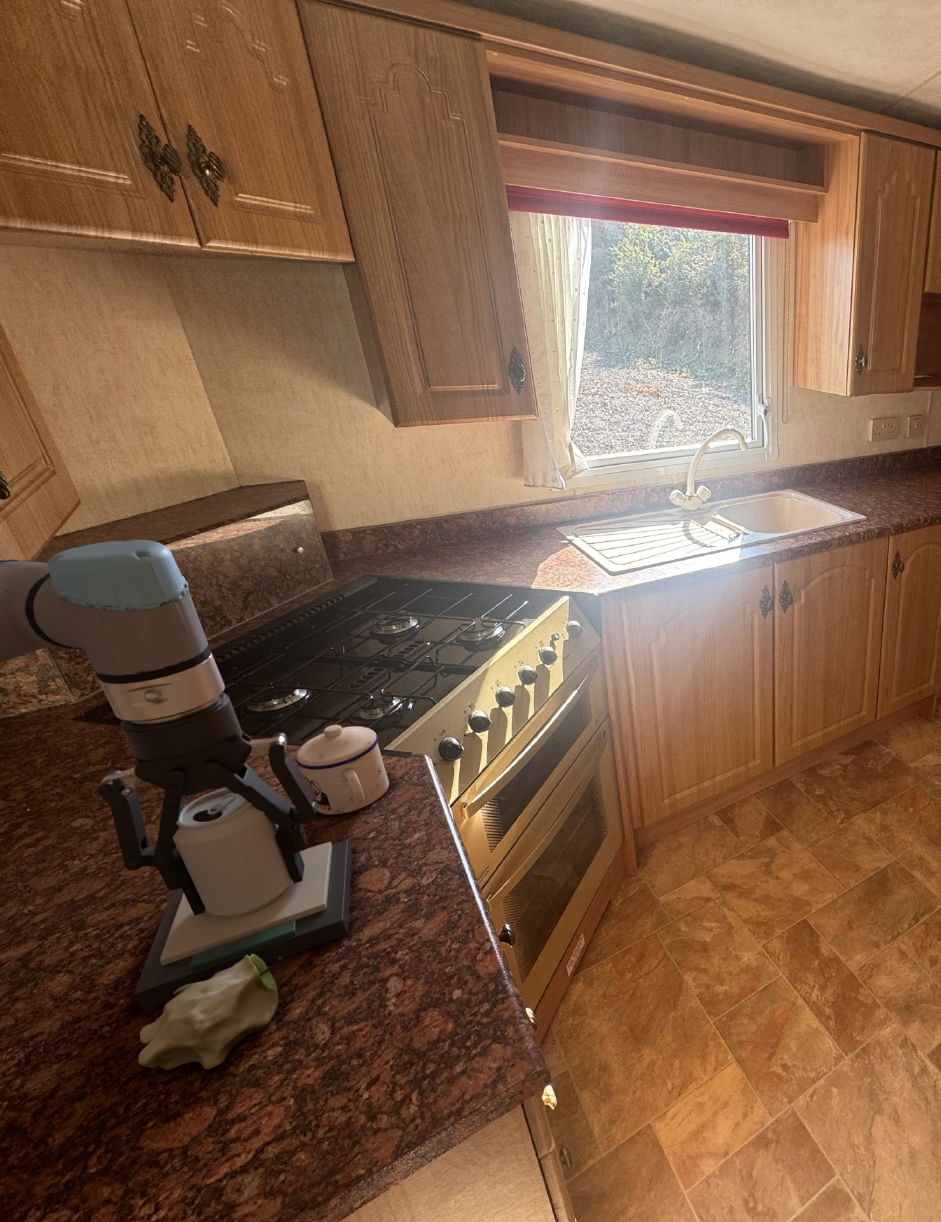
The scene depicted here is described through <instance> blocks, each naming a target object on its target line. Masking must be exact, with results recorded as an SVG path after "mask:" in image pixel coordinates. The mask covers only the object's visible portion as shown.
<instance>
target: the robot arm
mask: <svg viewBox="0 0 941 1222" xmlns="http://www.w3.org/2000/svg"><path fill="white" fill-rule="evenodd" d="M49 648H50V649H51V648H55V649H56V648H57V649H68V650H84V652H85V654H86V656H87V658H88V660H89V662H90V664H91V666H92V668H93V670H94V672H95V674H96V677H97V679H98V682H99V683H100V685H101V687H102V690H103V692H104V694H105V695H106V698H107V700H108V702H109V704H110V707H111V708H112V711H113V713H114V715H115V717H116V718H118V719H119V720H122V721H121V722H120V729H121V731H122V733H123V735H124V737H125V740H126V742H127V744H128V746H129V748H130V750H131V752H132V755H133V756H134V757H135V760H136V761H135V762H136V763H135V766H133V767H130V768H128V769H125V770H123V771H122V770H116V769H115V770H109V771H108V772H107V773H106V774H105V775H104V777H103V779H102V780H101V782H100V784H99V785H98V787H97V788H96V792H97V793H98V795H99V796H100V797H101V798H102V799H103V800H104V801H105V802H106V803H107V804H108V805H109V806H110V810H111V814H112V818H113V823H114V827H115V831H116V834H117V840H118V843H119V848H120V852H121V857H122V860H123V864H124V868H125V869H126V870H128V871H137V870H140V869H141V868H142V867H153V868H156V869H157V870H158V872H159V875H160V877H161V879H162V880H163V882H164V884H165V886H166V888H167V889H168V890H170V892H171V891H175V890H178V889H181V890H183V892H184V895H185V897H186V899H187V901H188V903H189V905H190V907H191V909H192V911H193V913H194V916H196V915H199V914H202V913H204V912H205V909H206V908H205V906H204V904H203V902H202V900H201V898H200V895H199V893H198V891H197V889H196V887H195V885H194V883H193V880H192V878H191V876H190V874H189V872H188V870H187V867H186V865H185V863H184V861H183V859H182V857H181V855H180V852H179V850H178V849H177V846H176V844H175V842H174V840H173V836H174V835H175V833H176V830H177V827H178V825H177V824H176V823H177V822H178V820H179V818H180V815H181V813H182V810H183V808H184V807H185V803H186V798H187V797H190V796H195V795H197V794H200V793H201V792H204V791H207V790H220V789H224V788H225V789H226V788H227V789H229V790H230V791H231V792H233V793H235V794H236V793H238V794H239V795H241V796H242V797H243V798H244V799H246V800H247V801H248V802H249V803H252V805H253V806H254V807H255V808H257V809H258V810H259V811H262V812H264V813H265V816H267V817H268V818H269V819H270V820H272V821H273V822H274V823H275V824H277V825H278V828H277V833H276V839H277V842H278V844H279V847H280V849H281V852H282V854H283V857H284V859H285V862H286V865H287V867H288V870H289V872H290V875H291V877H292V880H293V883H294V884H295V883H298V882H301V881H303V874H304V867H305V865H304V862H303V859H302V857H301V854H300V851H303V850H305V849H307V848H306V847H307V842H308V836H307V834H306V830H305V828H304V825H303V822H305V821H311V820H313V819H315V817H316V815H317V810H316V809H317V800H316V798H315V796H314V795H313V793H312V791H311V790H310V788H309V786H308V785H307V783H306V780H305V778H304V775H302V773H301V772H300V769H299V768H298V766H297V765H296V762H295V761H294V759H293V758H292V756H291V754H290V753H289V751H288V737H287V734H285V733H284V732H277V733H275V734H273V735H272V737H267V738H256V739H252V738H251V736H249V735H248V734H246V733H245V732H244V731H243V730H242V728H241V725H240V722H239V720H238V718H237V717H238V716H237V714H236V711H235V709H234V707H233V704H232V701H231V699H230V696H229V694H227V693H225V692H224V691H225V690H226V689H225V688H226V686H225V682H224V680H223V677H222V675H221V673H220V670H219V668H218V665H217V663H216V660H215V657H214V655H213V653H212V651H211V649H210V647H209V643H208V639H207V636H206V634H205V632H204V629H203V626H202V624H201V620H200V618H199V615H198V612H197V610H196V606H195V604H194V601H193V598H192V595H191V593H190V590H189V583H188V581H187V580H186V579H185V576H183V574H182V572H181V571H180V569H179V567H178V564H177V561H176V560H175V558H174V556H173V554H172V552H171V550H170V549H169V547H167V546H166V545H164V544H163V543H160V542H157V541H154V540H147V539H130V540H113V541H112V540H111V541H103V542H98V543H91V544H86V545H85V544H84V545H79V546H77V547H76V546H75V547H72V548H69V549H65V550H62V551H60V552H58V553H56V554H54V555H52V556H51V557H50V558H49V559H48V561H47V562H40V561H32V560H28V559H23V560H20V559H13V558H12V559H0V664H2V663H4V662H5V663H6V662H8V661H11V660H13V659H16V658H19V657H22V656H25V655H28V654H31V653H33V652H36V651H40V650H44V649H49ZM253 753H254V754H257V755H258V756H259V757H260V759H261V760H262V761H264V762H269V766H270V769H271V771H272V773H273V774H274V776H275V777H276V779H277V781H278V782H279V784H280V785H281V787H282V789H283V790H284V792H285V794H286V795H287V796H288V798H289V800H290V801H291V803H290V802H289V801H288V800H287V799H285V798H284V797H283V796H282V795H280V793H278V792H277V791H276V790H274V788H272V787H271V786H270V785H269V784H268V783H266V782H265V781H264V780H263V779H261V778H260V777H259V776H258V775H257V774H256V773H255V772H254V770H253V768H252V767H251V766H250V765H249V764H247V760H248V758H249V757H250V755H251V754H253ZM140 780H142V782H146V783H148V784H151V785H153V786H155V787H157V788H160V789H162V790H164V796H163V801H162V811H161V817H160V821H159V827H158V834H157V840H156V844H155V846H150V843H149V839H148V834H147V830H146V825H145V820H144V815H143V812H142V807H141V803H140V799H139V794H138V791H137V789H138V787H139V786H140ZM292 804H293V805H292ZM176 849H177V851H176Z"/></svg>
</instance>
